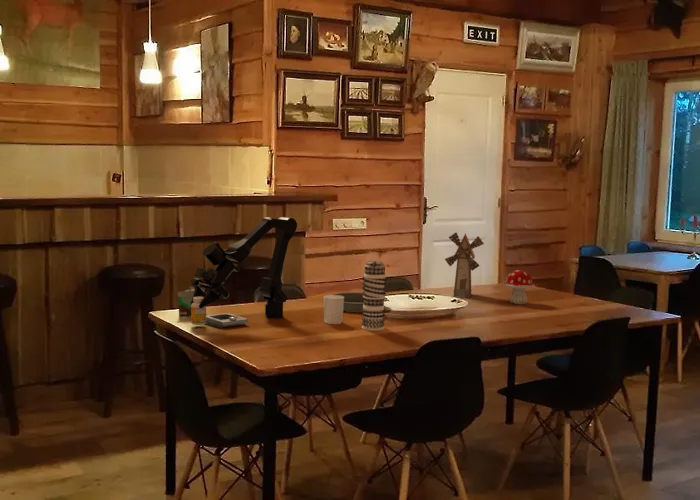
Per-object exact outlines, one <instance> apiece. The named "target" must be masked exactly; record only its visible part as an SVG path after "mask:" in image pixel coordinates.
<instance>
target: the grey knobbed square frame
mask: <svg viewBox="0 0 700 500" xmlns="http://www.w3.org/2000/svg"><path fill="white" fill-rule="evenodd" d="M248 322H249V318H246V317H244V316H239V315H236V314H233V313H229V312H223V313H215V314H206V324H205V325H210V326H213V327H216V328H219V329H223V328H230V327H235V326H243V325H246V323H248Z"/></svg>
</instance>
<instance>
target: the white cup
mask: <svg viewBox="0 0 700 500" xmlns="http://www.w3.org/2000/svg"><path fill="white" fill-rule="evenodd" d="M343 307H344V297H343V296H339V295H332V294H328V295H324V296H323V315H324V316H323V318H324V319H323V322H324V323H325V324H328V325H339V324H342V323H343V315H344V311H343Z"/></svg>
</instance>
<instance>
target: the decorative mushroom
mask: <svg viewBox="0 0 700 500" xmlns="http://www.w3.org/2000/svg"><path fill="white" fill-rule="evenodd" d="M506 277H507V278H506V279H505V281H504V282H503V283H502V284H503V286H504V287H506V288H512V291H511V293H510V295H509V296H508V297H509V299H508V300H509V302H510V303H511V304H513V303H514V305H525V304H526V303H527V302H528V297H527V294H526V289H533V288H535V283H534V282H533V277H532V276H531V275H530V273H528V271H525V270H523V269H516V270H512V271H511V272H509V274H508V275H507V276H506Z"/></svg>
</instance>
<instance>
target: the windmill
mask: <svg viewBox="0 0 700 500" xmlns="http://www.w3.org/2000/svg"><path fill="white" fill-rule="evenodd" d="M448 239H449V240H450V241H451V242H452V243H454V244H455V245H456V246H457V249H456V251H455V252H454V255H451V256H449V257H446V258H444V260H445V262H446V263H447V265H448V266H449V267H451V266H453V265H454V263H455V262H456V270H455V277H454V279H455V280H454V285H453V287H454V289H453V297H457V298H458V299H466V298H472V272H473V271H474V270H475V269H478V268H479V267H480V264H479V263H478V262H477V261H476V260H475V258H476V256H475V253H474V251H473V249H476V248H478V247H480V246H483V245H485V244H484V242H483V240H482V239H481V238H480V236H478V235H477V236H476V238H475V239H473V241H472V242H471V243H470V241H469V238H468V235H467V233H464V235H463V237H462V239H460V237H459V235H458V233H457V232H454V233H452V234H451V235H450V236H449V237H448Z"/></svg>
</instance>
